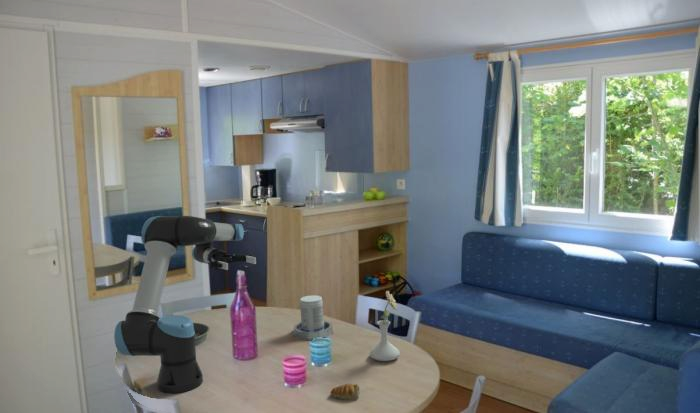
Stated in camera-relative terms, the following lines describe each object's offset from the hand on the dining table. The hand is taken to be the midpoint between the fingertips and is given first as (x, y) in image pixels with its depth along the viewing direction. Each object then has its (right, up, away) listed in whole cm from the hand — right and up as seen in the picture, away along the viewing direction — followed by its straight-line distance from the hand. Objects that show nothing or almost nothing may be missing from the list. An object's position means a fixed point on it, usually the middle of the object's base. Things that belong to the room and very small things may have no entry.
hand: (241, 263), depth 238 cm
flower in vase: (+59, -33, -23) cm, 71 cm away
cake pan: (-26, -33, +3) cm, 43 cm away
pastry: (+44, -38, -54) cm, 79 cm away
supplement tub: (+29, -30, +7) cm, 42 cm away
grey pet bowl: (+29, -30, +7) cm, 43 cm away
